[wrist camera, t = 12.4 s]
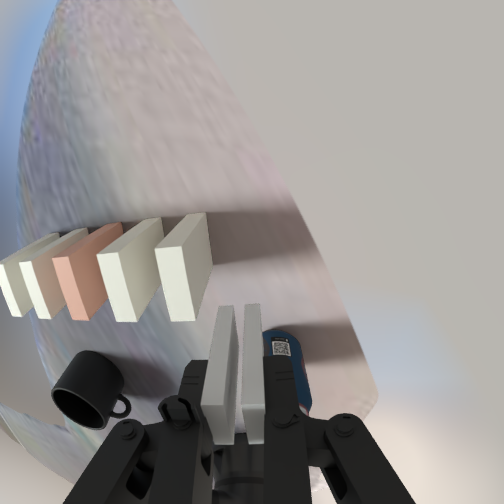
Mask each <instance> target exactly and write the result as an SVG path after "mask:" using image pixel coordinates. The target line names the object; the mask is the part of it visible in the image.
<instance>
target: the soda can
mask: <svg viewBox="0 0 504 504" xmlns="http://www.w3.org/2000/svg"><path fill="white" fill-rule="evenodd" d="M262 337H263V351H264V356H276V355H286V356H287V357H288V358H289V359H290V360H291V362H292V366H293V372H294V379H295V384H296V390H297V396H298V402H299V406H300V409H301V410H302V412H303V413H304V414H306V415H307V416H309V411H310V409H311V406H312V398H311V393H310V388H309V383H308V379H307V374H306V369H305V365H304V360H303V355H302V351H301V347H300V344H299V342H298V341H297V339H296V338H294V337H293V336H292V335H290V334H288V333H286V332H284V331H281V330H268V331H265V332H262Z"/></svg>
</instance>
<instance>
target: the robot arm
mask: <svg viewBox="0 0 504 504" xmlns="http://www.w3.org/2000/svg"><path fill="white" fill-rule="evenodd" d="M238 357H239V342H238V335H237V328H236V321H235V314H234V307H233V306H219V308H218V313H217V318H216V323H215V328H214V334H213V339H212V344H211V349H210V355H209V360H191V361H190V363H189V364H188V365H187V366H186V367H185V370H184V374H183V378H182V381H181V385H180V389H179V393H178V395H174V396H170V397H168V398H165V399H164V400H163V401H162V402H161V403H160V404H159V406H158V410H159V412H160V414H161V416H162V418H163V419H164V421H162V422H159V423H155V424H149V425H142V424H141V422H139V421H137V420H135V419H125V420H122V421H120V422H118V423H117V424H116V425H115V426H114V427H113V429H112V430H111V432H110V433H109V434H108V436H107V437H106V439H105V440H104V442H103V443H102V445H101V446H100V448H99V449H98V451H97V452H96V454H95V455H94V457H93V458H92V460H91V461H90V463H89V464H88V466H87V467H86V469H85V470H84V472H83V473H82V475H81V476H80V478H79V479H78V481H77V482H76V484H75V486H74V487H73V489H72V490H71V492H70V493H69V495H68V496H67V498H66V499H65V501H64V502H63V504H312V497H311V487H310V476H309V467H308V466H313V467H320V469H321V471H322V473H323V475H324V477H325V480H326V482H327V484H328V486H329V488H330V490H331V492H332V494H333V496H334V498H335V500H336V503H337V504H416V503H415V502H414V500H413V499H412V498H411V495H410V494H409V493H408V491H407V489H406V488H405V486H404V485H403V483H402V482H401V480H400V479H399V477H398V475H397V474H396V472H395V471H394V469H393V468H392V466H391V465H390V463H389V462H388V460H387V459H386V457H385V456H384V454H383V453H382V451H381V449H380V448H379V447H378V445H377V443H376V442H375V440H374V439H373V437H372V435H371V434H370V432H369V431H368V429H367V428H366V426H365V425H364V423H363V422H362V420H361V419H360V418H358V417H357V416H355V415H353V414H347V413H343V414H337V415H335V416H333V417H332V418H330V419H329V420H322V419H315V418H311V417H309V416H307V415H306V414H304V413H303V412H302V410H301V409H300V406H299V402H298V396H297V390H296V384H295V379H294V372H293V366H292V362H291V360H290V359H289V358H288V357H287V356H286V355H276V356H264V351H263V337H262V325H261V314H260V304H247V305H245V313H244V338H243V364H242V392H241V407H242V412H243V417H244V423H245V428H246V433H247V434H234V432H235V412H236V393H237V375H238ZM212 441H213V442H212ZM213 477H214V480H215V487H214V490H212V482H213Z"/></svg>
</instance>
